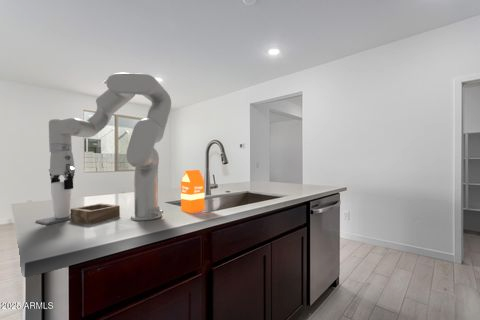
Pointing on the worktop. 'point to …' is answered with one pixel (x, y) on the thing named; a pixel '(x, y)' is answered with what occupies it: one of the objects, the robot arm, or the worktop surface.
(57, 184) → the drinking glass
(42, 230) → the worktop surface
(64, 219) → the charcoal tile coaster
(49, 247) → the worktop surface
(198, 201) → the orange juice
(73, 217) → the walnut holder
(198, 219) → the worktop surface
